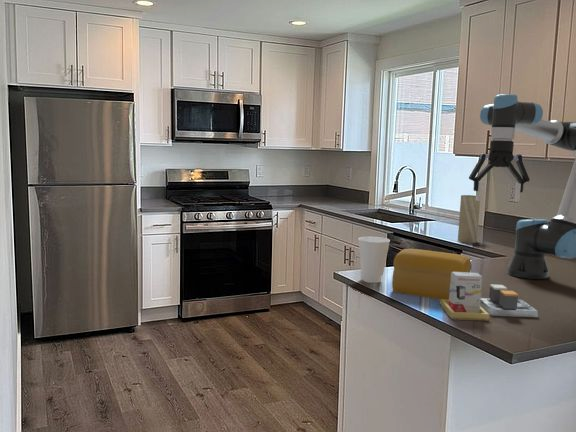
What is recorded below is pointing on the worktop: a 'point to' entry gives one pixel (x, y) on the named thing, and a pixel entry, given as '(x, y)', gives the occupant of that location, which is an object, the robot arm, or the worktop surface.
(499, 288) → the toggle plain
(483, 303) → the panel
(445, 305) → the yellow tray
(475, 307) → the ink box
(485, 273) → the worktop surface
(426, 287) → the bread
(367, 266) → the cup
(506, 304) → the grey block
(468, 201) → the tube
